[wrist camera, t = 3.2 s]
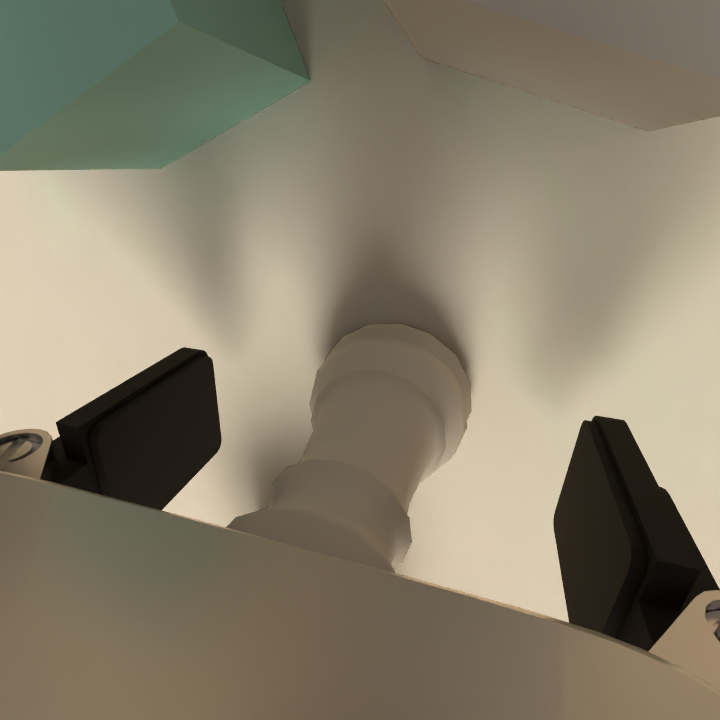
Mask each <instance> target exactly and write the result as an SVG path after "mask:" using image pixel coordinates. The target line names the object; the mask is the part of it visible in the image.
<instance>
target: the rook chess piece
mask: <svg viewBox="0 0 720 720" xmlns="http://www.w3.org/2000/svg"><path fill="white" fill-rule="evenodd" d="M310 408H311V413H312V418H311V422H312V427H313V433H312V435H311V438H310V440H309V443H308V445H307V448H306V450H305V452H304V455H303V457H302V459H301V460H300V462H299V463H298V464H296V465H293V466H290V467H287V468H286V469H285V470H284V471H283V472H282V473H281V474H280V476H279V477H278V478H277V479H276V480H275V481H274V482H273V483H272V487H271V492H270V496H269V501H268V506H269V508H266V509H263V510H259V511H256V512H252V513H249V514H246V515H242V516H239V517H236V518H235V519H234V520H233V521H232V522H231V523H230V524H229V525H228V526H227V527H226V528H229V529H233V530H237V531H241V532H244V533H248V534H252V535H256V536H259V537H263V538H267V539H271V540H274V541H278V542H282V543H286V544H289V545H293V546H297V547H300V548H304V549H308V550H312V551H315V552H319V553H323V554H326V555H330V556H334V557H337V558H341V559H345V560H348V561H352V562H356V563H359V564H363V565H367V566H370V567H374V568H378V569H381V570H385V571H389V572H392V573H395V571H394V569H393V568H394V567H396V566H397V565H398V564H400V563H401V562H403V560H404V558H405V556H406V553H407V551H408V549H409V547H410V545H411V542H412V539H411V530H410V521H409V517H408V515H407V511H408V507H409V503H410V501H411V499H412V497H413V495H414V493H415V491H416V489H417V486H418V484H419V483H420V482H421V481H422V480H424V479H425V478H426V477H427V476H429V475H431V474H432V473H433V472H435V471H436V470H437V469H438V468H440V467H441V466H442V465H443V464H445V463H446V462H447V461H448V460H450V459H451V458H452V456H453V455H454V453H455V452H456V450H457V448H458V446H459V444H460V441H461V439H462V437H463V435H464V433H465V431H466V428H467V419H468V417H469V415H470V413H471V388H470V381H469V379H468V377H467V375H466V373H465V371H464V369H463V367H462V366H461V364H460V362H459V360H458V358H457V356H456V355H455V354H454V353H453V352H452V351H451V350H449V349H448V348H447V347H446V346H445V345H444V344H442V343H441V342H440V341H439V340H438V339H437V338H435V337H434V336H433V335H432V334H430V333H427V332H424V331H421V330H418V329H415V328H412V327H410V326H407V325H404V324H401V323H394V324H369V325H367V326H365V327H362V328H360V329H358V330H356V331H354V332H352V333H350V334H348V335H345V336H343V337H342V338H341V340H340V341H339V342H338V343H337V344H336V346H335V347H334V348H333V349H332V350H331V352H330V353H329V354H328V355H327V357H326V359H325V362H324V363H323V365H322V366H321V367H320V368H319V369H318V371H317V374H316V378H315V383H314V387H313V391H312V395H311V400H310Z"/></svg>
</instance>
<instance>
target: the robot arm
mask: <svg viewBox="0 0 720 720" xmlns="http://www.w3.org/2000/svg"><path fill="white" fill-rule="evenodd" d="M56 425H57V428H58V431H59V435H60V437H58V438H57V439H55V440H52V437H51V435H50V434H49V433H48V432H46V431H43V430H40V429H23V430H16V431H12V432H7V433H4V434H1V435H0V720H720V589H719V587H718V585H717V584H716V582H715V580H714V578H713V576H712V574H711V572H710V570H709V568H708V567H707V565H706V563H705V561H704V559H703V557H702V555H701V553H700V551H699V550H698V548H697V546H696V544H695V542H694V540H693V538H692V536H691V534H690V533H689V531H688V529H687V527H686V525H685V523H684V521H683V519H682V517H681V516H680V514H679V512H678V510H677V508H676V506H675V504H674V502H673V500H672V499H671V497H670V495H669V493H668V492H667V491H666V489H664V488H662V487H659V486H658V484H657V482H656V480H655V478H654V476H653V474H652V472H651V470H650V468H649V466H648V464H647V462H646V461H645V459H644V457H643V455H642V453H641V451H640V449H639V447H638V445H637V443H636V441H635V439H634V437H633V435H632V433H631V431H630V429H629V427H628V425H627V423H626V422H625V421H624V420H619V419H613V418H607V417H601V416H595V417H594V418H593V419H592V421H586V420H585V421H583V423H582V425H581V428H580V431H579V435H578V438H577V441H576V444H575V448H574V451H573V454H572V458H571V461H570V464H569V467H568V471H567V474H566V477H565V480H564V484H563V487H562V490H561V494H560V497H559V500H558V503H557V507H556V510H555V514H554V532H555V538H556V544H557V550H558V557H559V563H560V569H561V575H562V581H563V587H564V593H565V599H566V605H567V611H568V618H569V623H568V622H565V621H561V620H558V619H555V618H552V617H549V616H545V615H542V614H539V613H536V612H532V611H529V610H526V609H523V608H520V607H516V606H512V605H508V604H505V603H501V602H497V601H494V600H490V599H487V598H483V597H479V596H476V595H472V594H469V593H465V592H461V591H458V590H454V589H450V588H447V587H443V586H440V585H436V584H432V583H429V582H425V581H421V580H418V579H414V578H410V577H407V576H403V575H399V574H396V573H392V572H389V571H385V570H381V569H378V568H374V567H370V566H367V565H363V564H359V563H356V562H352V561H348V560H345V559H341V558H337V557H334V556H330V555H326V554H323V553H319V552H315V551H312V550H308V549H304V548H300V547H297V546H293V545H289V544H286V543H282V542H278V541H274V540H271V539H267V538H263V537H259V536H256V535H252V534H248V533H244V532H241V531H237V530H233V529H229V528H226V527H222V526H218V525H214V524H211V523H207V522H203V521H199V520H196V519H192V518H188V517H184V516H180V515H177V514H173V513H169V512H165V511H161V510H162V509H163V508H164V507H165V506H166V505H167V504H168V503H169V502H170V501H171V500H172V499H173V498H174V497H175V496H176V495H177V494H178V493H179V492H180V491H181V489H182V488H183V487H184V486H185V485H186V484H187V483H188V482H189V481H190V480H191V479H192V478H193V477H194V476H195V475H196V474H197V473H198V472H199V471H200V470H201V469H202V468H203V467H204V465H205V464H206V463H207V462H208V461H209V460H210V459H211V458H212V457H213V456H214V455H215V454H216V453H217V452H218V450H219V448H220V445H221V431H220V422H219V413H218V404H217V395H216V386H215V377H214V368H213V361H212V359H211V358H210V357H208V355H207V353H206V352H205V351H203V350H197V349H191V348H185V347H184V348H181V349H179V350H177V351H176V352H174V353H172V354H171V355H169V356H167V357H166V358H164V359H162V360H160V361H159V362H157V363H155V364H154V365H152V366H150V367H149V368H147V369H145V370H144V371H142V372H140V373H138V374H137V375H135V376H133V377H132V378H130V379H128V380H127V381H125V382H123V383H122V384H120V385H118V386H116V387H115V388H113V389H111V390H110V391H108V392H106V393H105V394H103V395H101V396H100V397H98V398H96V399H94V400H93V401H91V402H89V403H88V404H86V405H84V406H83V407H81V408H79V409H78V410H76V411H74V412H72V413H71V414H69V415H67V416H66V417H64V418H62V419H61V420H59V421H57V422H56Z"/></svg>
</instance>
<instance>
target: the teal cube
mask: <svg viewBox="0 0 720 720" xmlns="http://www.w3.org/2000/svg"><path fill="white" fill-rule="evenodd" d="M310 81H311V80H310V78H309V75H308V72H307V70H306V67H305V64H304V62H303V59H302V56H301V54H300V51H299V48H298V46H297V43H296V40H295V38H294V35H293V32H292V30H291V27H290V24H289V22H288V19H287V16H286V14H285V11H284V8H283V6H282V3H281V0H0V171H19V170H90V169H161V168H162V167H164V166H166V165H167V164H169V163H171V162H173V161H174V160H176V159H178V158H179V157H181V156H183V155H185V154H186V153H188V152H190V151H192V150H193V149H195V148H197V147H198V146H200V145H202V144H204V143H205V142H207V141H209V140H210V139H212V138H214V137H216V136H217V135H219V134H221V133H222V132H224V131H226V130H228V129H229V128H231V127H233V126H234V125H236V124H238V123H240V122H241V121H243V120H245V119H246V118H248V117H250V116H252V115H253V114H255V113H257V112H258V111H260V110H262V109H264V108H265V107H267V106H269V105H270V104H272V103H274V102H276V101H277V100H279V99H281V98H283V97H284V96H286V95H288V94H289V93H291V92H293V91H295V90H296V89H298V88H300V87H301V86H303V85H305V84H307V83H308V82H310Z"/></svg>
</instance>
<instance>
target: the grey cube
mask: <svg viewBox="0 0 720 720" xmlns="http://www.w3.org/2000/svg"><path fill="white" fill-rule="evenodd" d="M383 1H384V3H385V4H386V6H387V7H388V9H389V10H390V11H391V13H392V14H393V16H394V17H395V19H396V20H397V22H398V23H399V25H400V26H401V28H402V29H403V30H404V32H405V33H406V35H407V36H408V38H409V39H410V41H411V42H412V44H413V45H414V47H415V48H416V49H417V51H418V52H419V54H420V55H421V57H422V58H424V59H427V60H430V61H433V62H437V63H440V64H443V65H446V66H449V67H452V68H455V69H458V70H461V71H464V72H467V73H470V74H474V75H477V76H480V77H483V78H486V79H489V80H492V81H495V82H498V83H501V84H504V85H507V86H511V87H514V88H517V89H520V90H523V91H526V92H529V93H532V94H535V95H538V96H541V97H545V98H548V99H551V100H554V101H557V102H560V103H563V104H566V105H569V106H572V107H575V108H578V109H582V110H585V111H588V112H591V113H594V114H597V115H600V116H603V117H606V118H609V119H612V120H616V121H619V122H622V123H625V124H628V125H631V126H634V127H637V128H640V129H643V130H646V131H652V130H656V129H661V128H665V127H670V126H675V125H679V124H684V123H689V122H693V121H698V120H703V119H707V118H712V117H716V116H720V0H383Z"/></svg>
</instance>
